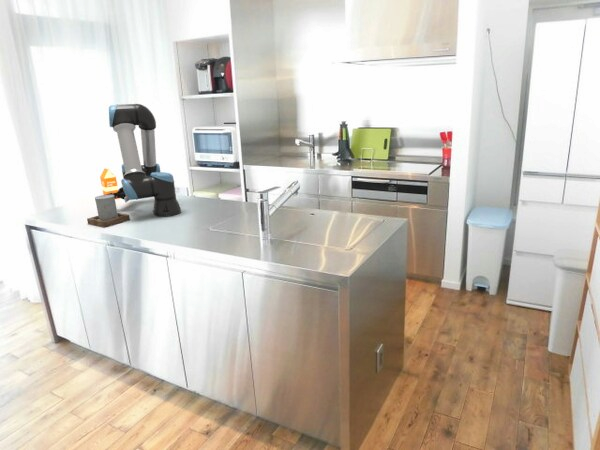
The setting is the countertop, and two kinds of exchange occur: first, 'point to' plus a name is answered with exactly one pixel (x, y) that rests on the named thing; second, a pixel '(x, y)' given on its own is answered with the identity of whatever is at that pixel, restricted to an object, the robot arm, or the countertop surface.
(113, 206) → the speckled white cylinder
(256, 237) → the countertop surface
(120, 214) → the walnut seat tray
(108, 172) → the orange juice
